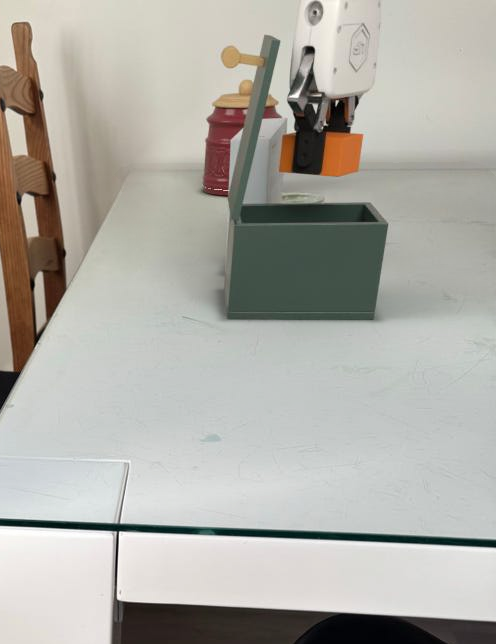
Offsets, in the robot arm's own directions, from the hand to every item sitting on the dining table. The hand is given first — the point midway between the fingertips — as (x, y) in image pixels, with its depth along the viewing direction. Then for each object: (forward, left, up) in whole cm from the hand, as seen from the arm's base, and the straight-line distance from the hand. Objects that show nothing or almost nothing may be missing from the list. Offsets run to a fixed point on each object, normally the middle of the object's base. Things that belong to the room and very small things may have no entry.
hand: (319, 168), depth 107 cm
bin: (+1, 0, -14) cm, 14 cm away
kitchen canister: (+49, -63, -14) cm, 81 cm away
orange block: (0, 0, 0) cm, 0 cm away
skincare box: (+18, -18, -14) cm, 29 cm away
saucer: (+30, -49, -14) cm, 59 cm away
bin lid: (+6, +4, +4) cm, 8 cm away
